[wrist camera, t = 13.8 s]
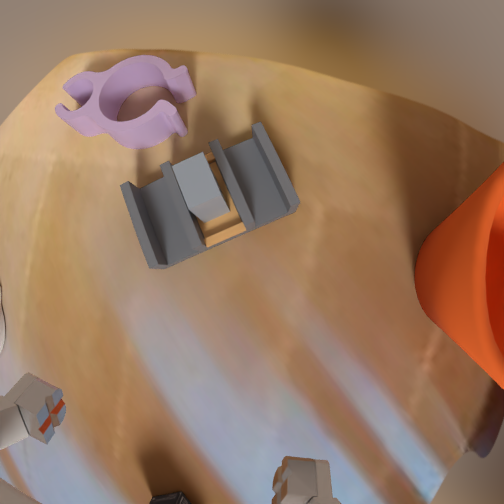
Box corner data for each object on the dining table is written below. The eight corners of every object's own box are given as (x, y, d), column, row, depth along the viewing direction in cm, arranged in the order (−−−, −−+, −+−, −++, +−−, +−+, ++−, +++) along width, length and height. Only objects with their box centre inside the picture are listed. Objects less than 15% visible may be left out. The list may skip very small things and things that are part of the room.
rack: (164, 269, 42) (149, 268, 36) (137, 196, 43) (119, 185, 37) (295, 211, 42) (300, 202, 36) (261, 140, 43) (260, 121, 37)
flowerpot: (414, 387, 40) (490, 442, 20) (359, 226, 42) (428, 191, 22) (524, 311, 40) (607, 321, 20) (482, 173, 42) (562, 133, 22)
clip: (69, 149, 44) (46, 134, 38) (90, 83, 45) (72, 63, 38) (184, 151, 44) (171, 132, 37) (200, 79, 44) (191, 53, 37)
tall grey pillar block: (204, 223, 41) (188, 209, 32) (190, 188, 41) (171, 166, 32) (230, 211, 40) (221, 194, 32) (215, 176, 41) (202, 151, 32)
